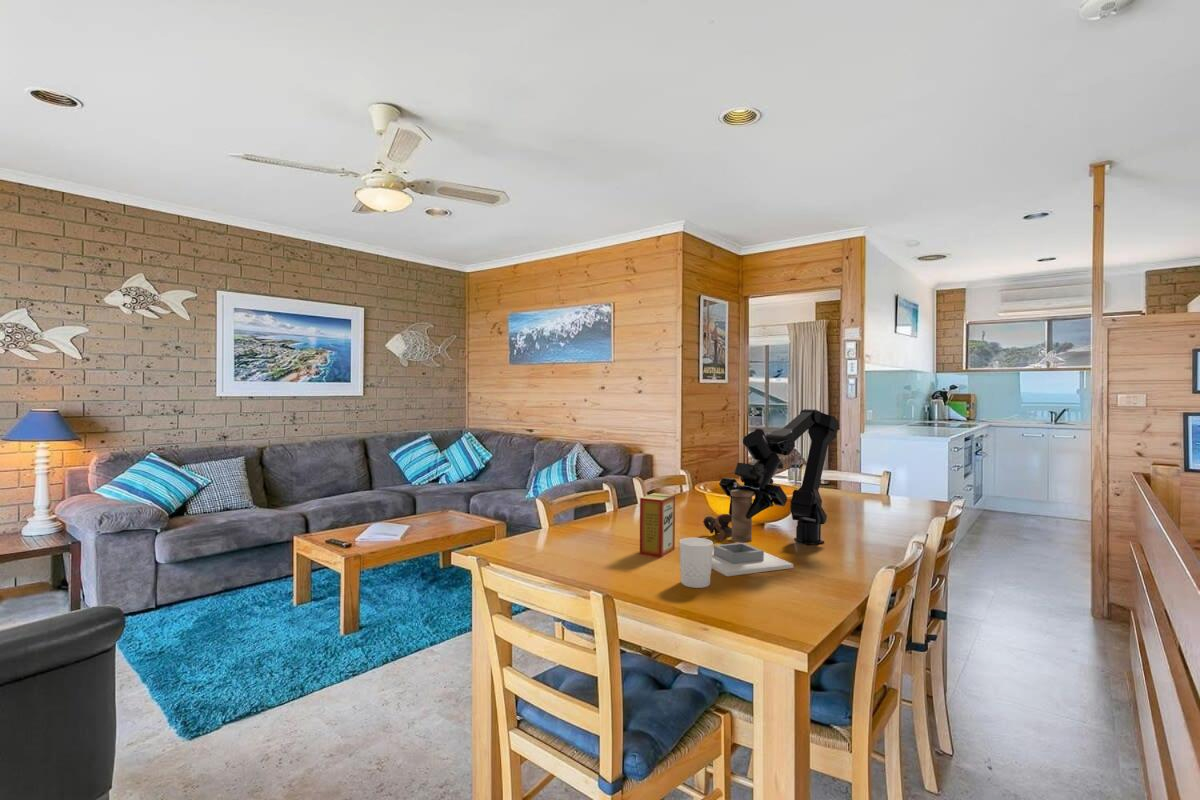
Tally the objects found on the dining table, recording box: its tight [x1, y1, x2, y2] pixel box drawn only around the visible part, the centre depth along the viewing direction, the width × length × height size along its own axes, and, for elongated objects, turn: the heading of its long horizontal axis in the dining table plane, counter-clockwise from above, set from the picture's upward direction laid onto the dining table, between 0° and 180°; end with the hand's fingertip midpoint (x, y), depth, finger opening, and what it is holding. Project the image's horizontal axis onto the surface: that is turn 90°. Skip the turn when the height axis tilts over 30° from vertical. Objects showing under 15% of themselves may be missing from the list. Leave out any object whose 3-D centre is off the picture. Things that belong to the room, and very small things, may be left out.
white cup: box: [678, 537, 714, 589], centre depth 142 cm, size 8×8×10 cm
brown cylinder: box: [730, 490, 755, 544], centre depth 160 cm, size 6×6×13 cm
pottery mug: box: [702, 513, 732, 541], centre depth 187 cm, size 12×10×8 cm
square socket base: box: [711, 542, 794, 577], centre depth 161 cm, size 20×20×4 cm
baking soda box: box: [639, 492, 676, 558], centre depth 170 cm, size 10×6×16 cm
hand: (738, 516), depth 159 cm, fingers closed on brown cylinder, 5 cm apart
